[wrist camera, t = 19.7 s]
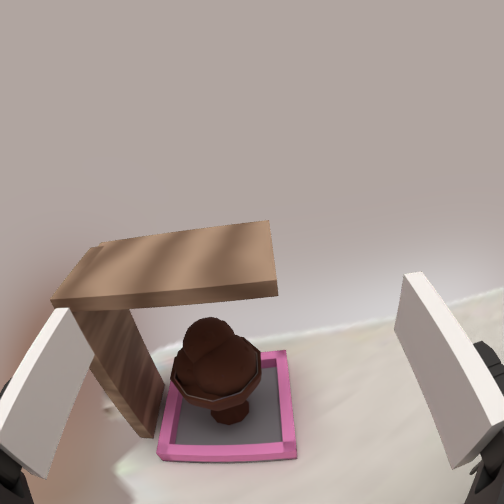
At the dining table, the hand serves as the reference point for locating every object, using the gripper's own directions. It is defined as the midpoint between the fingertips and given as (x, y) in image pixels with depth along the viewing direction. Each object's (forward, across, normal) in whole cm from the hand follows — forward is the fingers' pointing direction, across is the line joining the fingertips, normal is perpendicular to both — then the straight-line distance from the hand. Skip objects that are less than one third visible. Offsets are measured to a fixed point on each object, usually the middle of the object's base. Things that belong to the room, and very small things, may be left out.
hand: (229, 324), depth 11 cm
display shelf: (+16, -8, -30) cm, 35 cm away
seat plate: (+16, -6, -30) cm, 34 cm away
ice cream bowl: (+16, -6, -30) cm, 34 cm away
